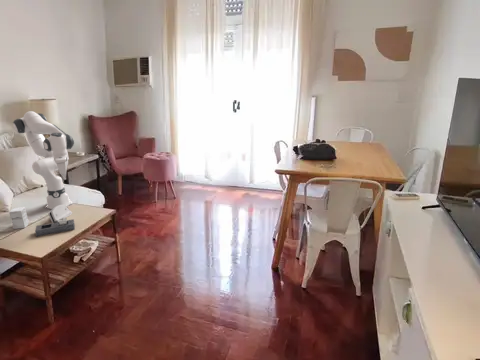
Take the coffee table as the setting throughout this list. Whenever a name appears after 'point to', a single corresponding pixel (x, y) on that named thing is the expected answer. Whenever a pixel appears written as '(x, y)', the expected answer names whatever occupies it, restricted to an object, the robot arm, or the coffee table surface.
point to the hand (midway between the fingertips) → (64, 177)
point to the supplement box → (19, 217)
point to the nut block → (62, 221)
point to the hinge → (59, 213)
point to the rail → (54, 228)
